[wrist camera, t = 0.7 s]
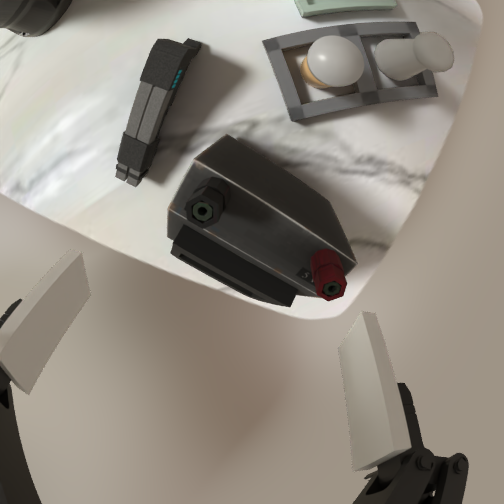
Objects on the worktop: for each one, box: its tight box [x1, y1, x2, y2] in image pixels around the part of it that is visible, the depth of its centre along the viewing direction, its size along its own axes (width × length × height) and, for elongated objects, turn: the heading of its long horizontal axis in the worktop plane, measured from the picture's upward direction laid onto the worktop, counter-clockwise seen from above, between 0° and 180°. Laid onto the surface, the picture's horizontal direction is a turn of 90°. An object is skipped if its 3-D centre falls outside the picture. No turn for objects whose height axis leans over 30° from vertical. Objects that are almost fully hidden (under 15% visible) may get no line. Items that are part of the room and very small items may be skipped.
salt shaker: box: [374, 32, 454, 81], centre depth 19 cm, size 6×6×13 cm
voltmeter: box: [167, 134, 358, 307], centre depth 30 cm, size 16×16×20 cm
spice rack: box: [262, 22, 438, 121], centre depth 22 cm, size 11×21×10 cm, turn 109°
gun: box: [115, 38, 201, 187], centre depth 30 cm, size 4×20×10 cm, turn 151°
